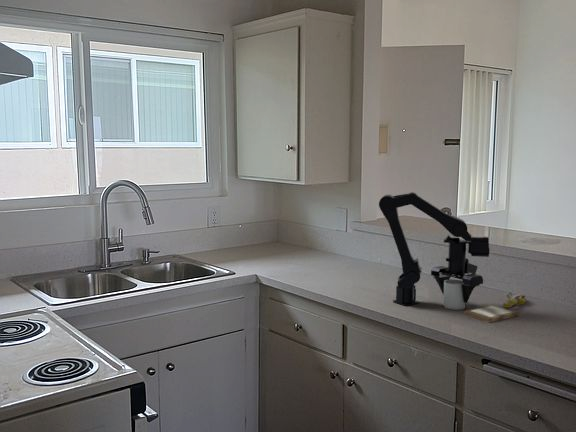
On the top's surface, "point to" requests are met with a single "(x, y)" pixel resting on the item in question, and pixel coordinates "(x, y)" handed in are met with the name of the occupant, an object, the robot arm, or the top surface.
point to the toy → (515, 299)
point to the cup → (453, 295)
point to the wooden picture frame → (491, 313)
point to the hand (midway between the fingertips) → (455, 299)
